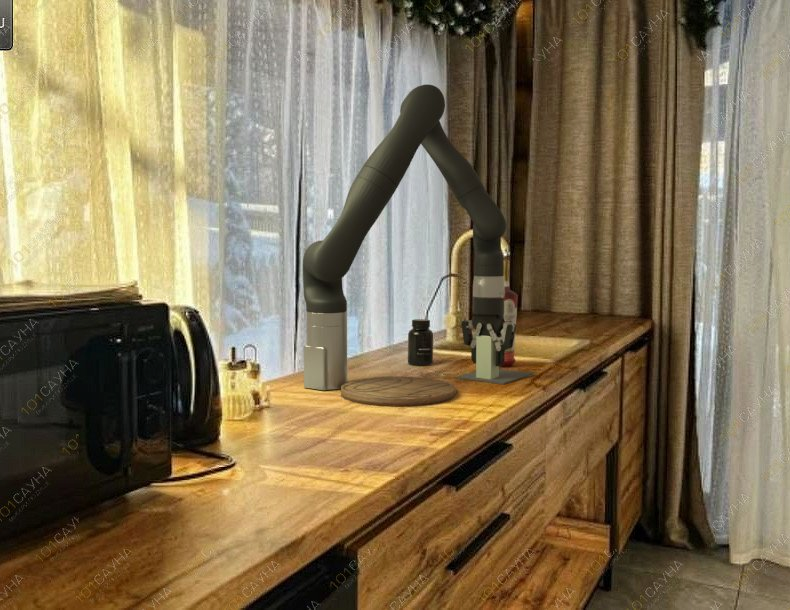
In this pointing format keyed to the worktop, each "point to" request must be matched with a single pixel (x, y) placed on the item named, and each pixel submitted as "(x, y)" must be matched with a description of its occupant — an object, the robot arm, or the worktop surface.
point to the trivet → (398, 391)
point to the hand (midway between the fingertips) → (487, 364)
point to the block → (486, 358)
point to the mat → (503, 378)
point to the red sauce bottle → (509, 315)
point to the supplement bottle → (420, 343)
